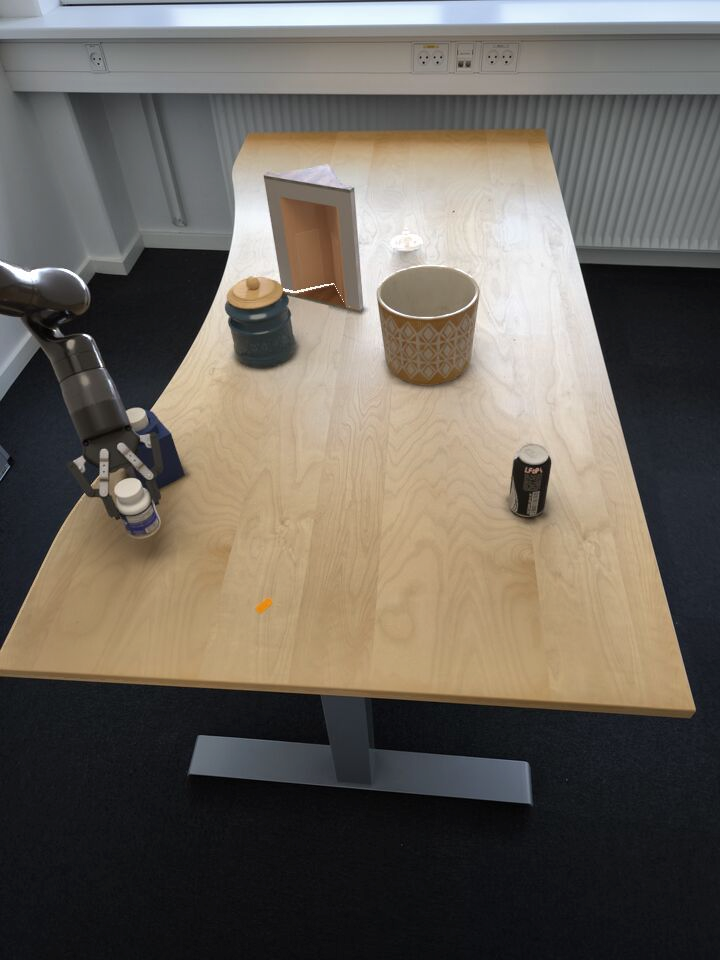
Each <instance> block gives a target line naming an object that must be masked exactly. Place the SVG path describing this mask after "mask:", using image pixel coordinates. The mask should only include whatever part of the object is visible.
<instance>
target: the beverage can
mask: <svg viewBox="0 0 720 960" xmlns="http://www.w3.org/2000/svg"><path fill="white" fill-rule="evenodd" d="M511 468H512V469H511V475H510V476H511V477H510V487H509V497H508V506H509V508H510V510H511V511H512V512H513V513H515V514H516V515H518V516H521V517H526V518H529V517H530V518H531V517H532V518H533V517H536V516H538V515H540V514H541V513H542V512H543V511H544V509H545V506H546V500H547V494H548V487H549V481H550V476H551V475H550V474H551V470H552V458H551V456H550V454H549V451H548V449H547V448H546V447H545V446H543V445H542V444H539V443H534V442H532V443H526V444H523V445H521V446H520V447H519V449H518V451H517V452H516V453H515V454H514V456H513V460H512V467H511Z"/></svg>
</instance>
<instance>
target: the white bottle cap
mask: <svg viewBox="0 0 720 960" xmlns="http://www.w3.org/2000/svg"><path fill="white" fill-rule="evenodd" d="M145 410H146V409H143V408H141V407H132V408H129V409H127V410H125V411H126V413H127V416H128V418H129V421H130V423H131V426H132V428H133V430H134V431H135V432H136V431H140V430H142V429H144V428H146V427H147V426H148V424H149V421H148V418H147V415H146V412H145Z"/></svg>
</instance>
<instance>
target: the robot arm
mask: <svg viewBox="0 0 720 960" xmlns="http://www.w3.org/2000/svg"><path fill="white" fill-rule="evenodd" d="M91 302H92V297H91V291H90V289H89V286H88V285H87V283H86V282H85V280H84V279H83V278H82V277H80V276H79V275H78V274H77V273H76V272H73V271H72V270H70V269H67V268H65V267H61V266H54V265H53V266H52V265H27V266H26V265H20V264H17V263H14V262H11V261H7V260H4V259H1V258H0V315H1V316H6V317H12V318H18V319H19V320H20V321H21V323H22V324H23V326H24V327H25V328H26V330H28V332H29V333H30V334H31V336H32V337H33V338H34V340H35V341H36V342H37V344H38V345H39V347H40V348H41V349H42V351H43V352H44V354H45V355H46V356H47V358H48V359H49V362H50V364H51V367H52V370H53V372H54V374H55V376H56V379H57V381H58V384H59V387H60V390H61V394H62V398H63V401H64V403H65V406H66V408H67V412H68V414H69V416H70V418H71V421H72V424H73V425H74V428H75V431H76V433H77V435H78V438H79V441H80V443H81V445H82V455H80V456H79V457H78V458H76V459H74V460H73V461H72V460H69V461H68V462H67V463H66V468H67V470H68V471H69V472H70V474H71V476H72V477H73V478H74V480H75V481H76V482H77V484H78V485H79V486H80V488H81V490H82V492H83V493H84V494H85V496H86V497H88V498H90V499H91V498H92V499H93V498H99V499H101V500H102V503H103V505H104V508H105V510H106V513H107V515H108V517H109V518H110V519H113V518H114V519H115V521H119V520H122V519H121V517H120V515H119V512H118V510H117V508H116V502H115V500H114V498H113V496H112V495H111V494H110V481H111V480H110V479H111V478H110V477H111V476H110V475H111V474H114V473H116V472H118V471H120V470H121V469H124V468H127V467H130V466H131V465H132V466H133V467H134V468H135V469H136V470H137V471H138V472H139V473H140V474H141V475H142V476H143V477H144V478H145V479H146V481H147V482H146V485H147V487H148V490H149V492H150V495H151V497H152V500H153V502H154V505H155V507H157V506H158V505H160V502H159V501H161V500H162V494H161V491H160V489H158V486H157V484H156V481H155V477H156V476H157V475H158V474H159V473H161V472H162V471H163V468H164V467H163V461H162V455H161V450H160V444H159V438H158V434H157V433H156V432H152V433H151V434H147V435H140V436H139V435H138V434H137V433H136V432H135V431H134V430H133V428H132V426H131V423H130V421H129V418H128V416H127V413H126V411H127V410H126V409H125V406H124V404H123V400H122V398H121V395H120V392H119V391H118V389H117V386H116V384H115V381H114V380H113V378H112V377H111V375H110V373H109V371H108V369H107V366H106V364H105V361H104V358H103V356H102V354H101V352H100V349H99V346H98V343H97V342H96V340H95V338H94V337H93V336H92V335H90V334H87V333H74V334H69V335H64V333H62V331H61V329H60V327H61V326H62V325H65V324H67V323H68V322H71V321H74V320H75V319H77V318H79V317H81V316H83V315H84V314H85V313H86V312H87V311H88V309H89V308H90V305H91ZM140 442H143V443H144V444H145V445H146V447H147V448H149V449H150V448H152V454H153V459H154V465H155V466H154V467H153V468H152V469H151V470H149V469H148V468H147V467H146V466H145V465H144V464H143V463H142V462H141V461H140V460H139V459H138V457H137V453H138V449H139V445H140ZM86 463H89V465H92V466H93V467H94V468H97V469H98V470H99V477H98V478H99V479H98V480H99V488H93V486H92V485H91V484H90V482H89V481H88V479H87V478H86V476H85V474H84V473H85V472H86V465H85V464H86Z"/></svg>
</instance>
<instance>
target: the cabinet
mask: <svg viewBox="0 0 720 960" xmlns="http://www.w3.org/2000/svg"><path fill="white" fill-rule="evenodd" d="M263 181H264V182H263V183H264V188H265V193H266V199H267V206H268V212H269V213H268V214H269V219H270V224H271V225H270V226H271V230H272V236H273V237H272V238H273V244H274V250H275V256H276V261H277V268H278V273H279V280H280V284H281V286H282V288H285V289H289V290H293V291H297V290H301V289H306V288H310V287H315V286H320V285H324V284H331V283H334V284H335V285H334V284H333V285H329V286H324V287H321V288H316V289H312V290H308V291H304V292H299V293H290V292H285V291H284V292H285V293H286V294H287V296H288V297H292V298H296V299H301V300H305V301H309V302H314V303H317V304H321V305H325V306H330V307H333V308H338V309H341V310H346V311H351V312H354V313H357V314H358V313H360V314H361V313H362V312H363V311H364V299H363V284H362V271H361V258H360V246H359V233H358V232H359V231H358V219H357V218H358V217H357V205H356V193H355V186H352V185H346V184H343V183H342V182H341V181H340V179H339V177H338V176H337V175H336V174H335V172H334V171H333V169H332V168H331V167H330V165H329V164H328V163H326V164H320V165H315V166H311V167H306V168H301V169H295V170H292V171H287V172H282V173H274V172H266V173H265V174H263ZM335 286H336V287H335ZM336 288H337V289H336ZM337 290H338V291H337ZM338 292H339V293H338ZM340 295H341V296H340ZM342 299H343V300H342ZM343 301H344V302H343ZM349 306H350V307H349Z"/></svg>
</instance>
